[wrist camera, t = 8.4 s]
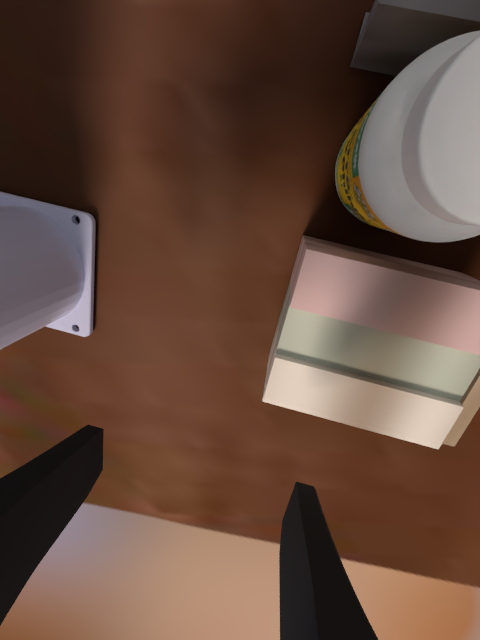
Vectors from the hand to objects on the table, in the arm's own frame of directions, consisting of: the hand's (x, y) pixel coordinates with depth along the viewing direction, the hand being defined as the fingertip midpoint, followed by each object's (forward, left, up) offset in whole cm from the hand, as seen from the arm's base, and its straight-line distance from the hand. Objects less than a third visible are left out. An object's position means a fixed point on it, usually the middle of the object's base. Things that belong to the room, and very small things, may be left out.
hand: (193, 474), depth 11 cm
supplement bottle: (+5, +12, -10) cm, 16 cm away
